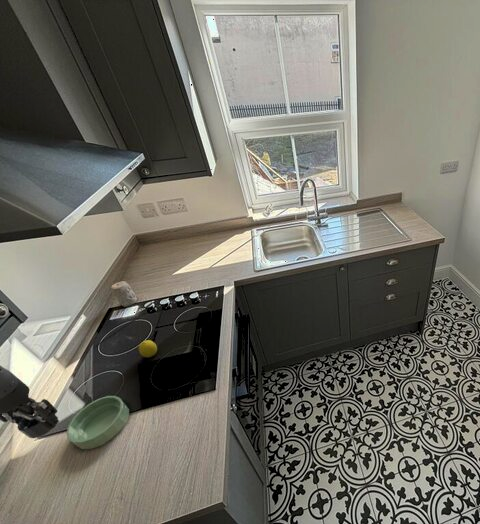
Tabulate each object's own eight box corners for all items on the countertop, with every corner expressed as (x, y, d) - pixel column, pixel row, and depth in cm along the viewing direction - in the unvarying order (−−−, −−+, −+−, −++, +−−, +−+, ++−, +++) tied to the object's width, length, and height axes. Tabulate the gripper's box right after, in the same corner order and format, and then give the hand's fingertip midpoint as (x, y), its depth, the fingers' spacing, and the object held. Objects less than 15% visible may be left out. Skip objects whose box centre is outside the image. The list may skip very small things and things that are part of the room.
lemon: (161, 348, 118) (153, 334, 113) (158, 359, 113) (149, 345, 109) (146, 352, 116) (137, 338, 112) (143, 363, 112) (133, 349, 108)
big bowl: (72, 460, 85) (62, 452, 82) (80, 418, 95) (71, 410, 92) (129, 433, 90) (121, 425, 88) (130, 396, 101) (123, 388, 98)
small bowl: (26, 444, 75) (13, 435, 72) (33, 423, 79) (22, 414, 77) (56, 431, 77) (45, 422, 75) (61, 411, 82) (51, 402, 79)
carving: (120, 310, 138) (106, 290, 131) (126, 299, 144) (114, 280, 138) (134, 307, 139) (122, 288, 132) (140, 297, 145) (128, 278, 138)
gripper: (-52, 406, 65) (3, 441, 75) (10, 404, 65) (57, 439, 75) (-17, 376, 72) (29, 412, 81) (39, 374, 71) (79, 410, 81)
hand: (42, 425), depth 78 cm, fingers closed on small bowl, 6 cm apart
